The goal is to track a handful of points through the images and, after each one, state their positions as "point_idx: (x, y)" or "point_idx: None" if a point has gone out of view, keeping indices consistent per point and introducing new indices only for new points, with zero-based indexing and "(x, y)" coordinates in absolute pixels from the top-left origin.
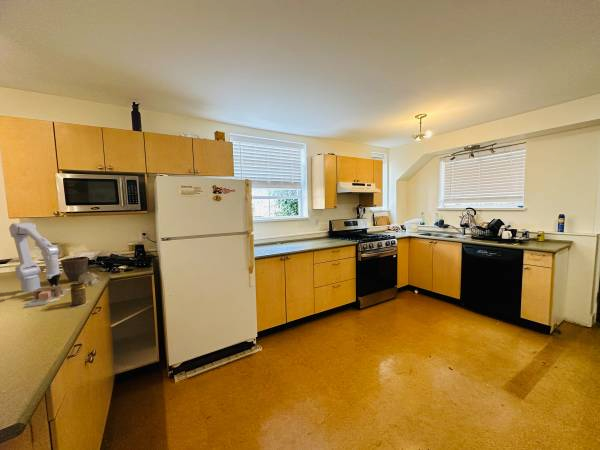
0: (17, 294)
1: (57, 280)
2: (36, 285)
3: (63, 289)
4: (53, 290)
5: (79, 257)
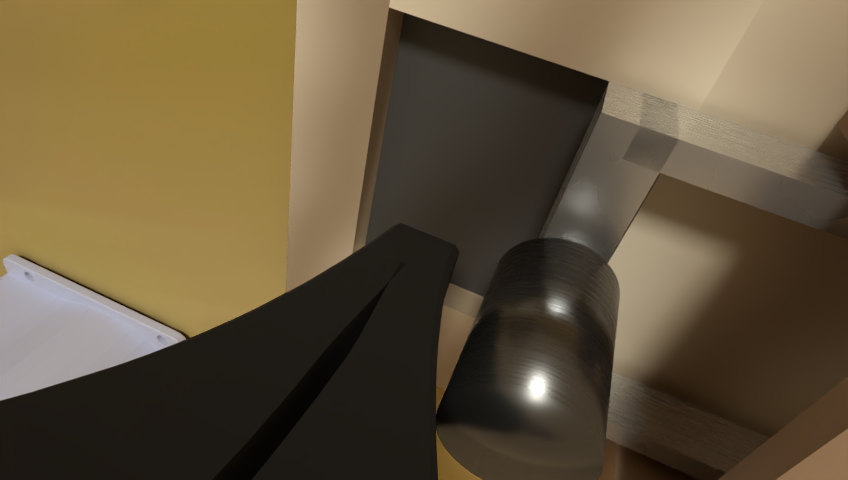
0: None
1: (354, 430)
2: (60, 376)
3: (338, 21)
4: (615, 298)
5: None
